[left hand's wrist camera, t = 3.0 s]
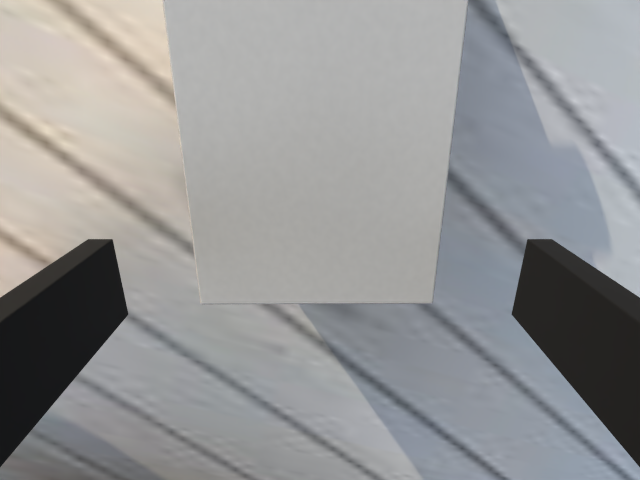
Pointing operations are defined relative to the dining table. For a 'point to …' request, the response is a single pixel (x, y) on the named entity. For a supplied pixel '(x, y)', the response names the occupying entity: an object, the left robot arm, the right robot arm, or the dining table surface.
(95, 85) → the dining table surface
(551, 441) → the dining table surface
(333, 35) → the grey rectangular block
